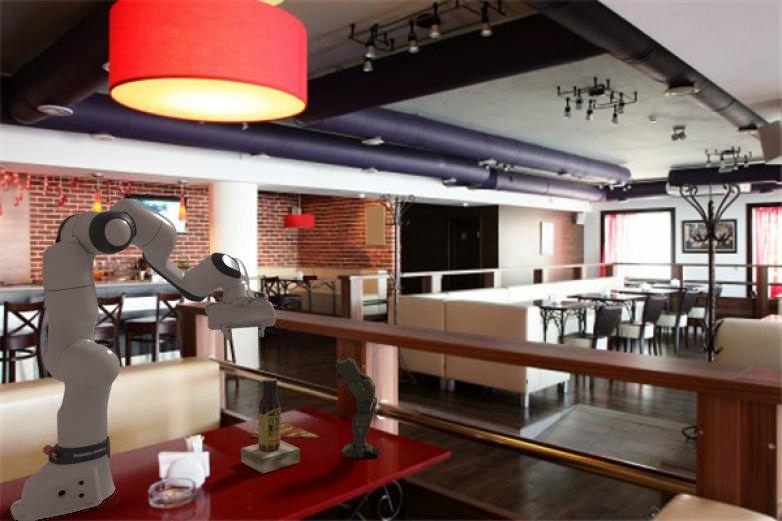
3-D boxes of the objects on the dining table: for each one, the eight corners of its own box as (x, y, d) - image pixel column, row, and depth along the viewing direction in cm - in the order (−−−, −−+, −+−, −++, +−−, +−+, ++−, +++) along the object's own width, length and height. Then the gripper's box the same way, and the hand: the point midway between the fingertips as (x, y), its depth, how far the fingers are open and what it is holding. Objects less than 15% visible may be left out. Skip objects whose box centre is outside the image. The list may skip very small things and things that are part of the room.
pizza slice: (276, 450, 178) (276, 444, 178) (242, 433, 195) (242, 427, 195) (319, 438, 189) (318, 432, 189) (283, 424, 205) (282, 418, 205)
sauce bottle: (270, 453, 163) (270, 383, 163) (253, 450, 166) (252, 380, 165) (285, 446, 169) (284, 378, 168) (268, 443, 172) (268, 376, 171)
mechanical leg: (392, 447, 175) (367, 351, 176) (389, 456, 168) (363, 356, 168) (348, 457, 177) (323, 362, 177) (344, 466, 170) (318, 367, 170)
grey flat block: (262, 473, 159) (262, 459, 159) (241, 462, 168) (240, 448, 168) (300, 462, 167) (299, 448, 167) (277, 451, 176) (277, 438, 176)
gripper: (204, 296, 174) (210, 333, 166) (272, 293, 183) (280, 328, 174) (203, 310, 179) (208, 346, 170) (269, 306, 187) (277, 341, 178)
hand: (245, 337), depth 172 cm, fingers open, 8 cm apart
